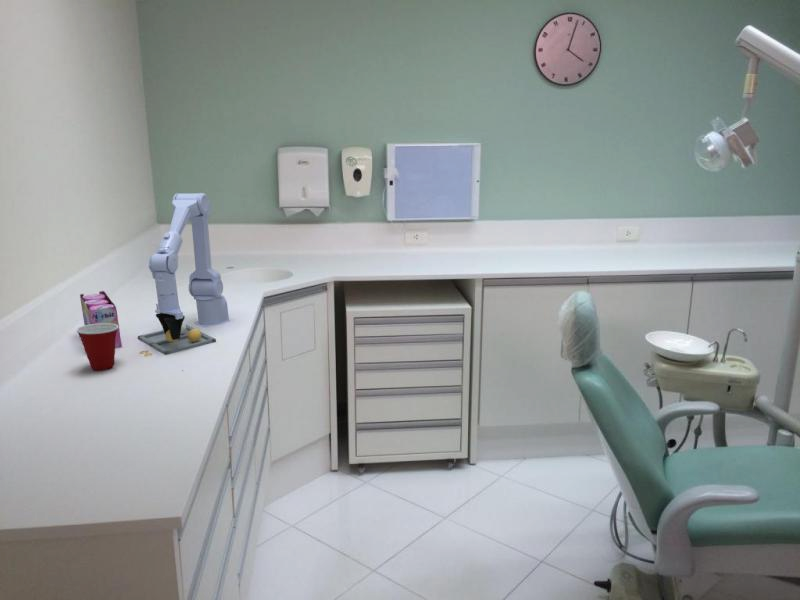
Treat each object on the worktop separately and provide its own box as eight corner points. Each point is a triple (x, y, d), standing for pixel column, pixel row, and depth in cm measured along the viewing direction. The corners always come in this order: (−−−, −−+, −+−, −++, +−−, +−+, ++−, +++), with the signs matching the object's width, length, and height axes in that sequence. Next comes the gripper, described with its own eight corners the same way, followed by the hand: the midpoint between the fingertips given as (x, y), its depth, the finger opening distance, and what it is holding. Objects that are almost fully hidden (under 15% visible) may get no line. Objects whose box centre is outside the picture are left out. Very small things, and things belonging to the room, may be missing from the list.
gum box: (84, 333, 223) (78, 293, 219) (110, 329, 227) (104, 289, 223) (95, 354, 203) (87, 310, 199) (123, 348, 207) (116, 305, 203)
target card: (149, 349, 205) (149, 348, 205) (160, 356, 199) (159, 354, 199) (132, 353, 202) (132, 352, 202) (143, 360, 196) (142, 358, 196)
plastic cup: (132, 363, 194) (126, 323, 190) (99, 376, 185) (92, 334, 181) (107, 358, 199) (101, 318, 196) (74, 370, 190) (67, 329, 187)
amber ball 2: (198, 338, 212) (196, 326, 211) (204, 341, 209) (202, 329, 208) (186, 341, 210) (184, 329, 208) (191, 344, 207) (190, 332, 206)
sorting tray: (186, 328, 224) (186, 324, 224) (216, 343, 209) (215, 339, 208) (138, 340, 214) (137, 336, 214) (165, 356, 199) (164, 352, 198)
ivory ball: (183, 331, 220) (182, 319, 219) (189, 334, 217) (187, 322, 216) (171, 334, 217) (170, 322, 216) (177, 337, 214) (175, 324, 213)
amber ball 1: (176, 339, 208) (175, 326, 207) (182, 342, 205) (180, 329, 204) (164, 342, 205) (162, 329, 204) (169, 345, 202) (167, 332, 201)
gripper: (144, 291, 204) (150, 335, 208) (164, 300, 193) (169, 346, 197) (167, 287, 208) (172, 329, 212) (187, 295, 198) (193, 340, 201)
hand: (172, 337), depth 205 cm, fingers open, 4 cm apart
